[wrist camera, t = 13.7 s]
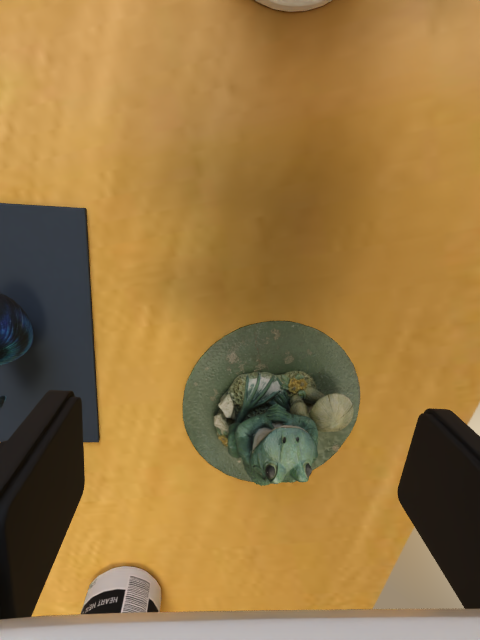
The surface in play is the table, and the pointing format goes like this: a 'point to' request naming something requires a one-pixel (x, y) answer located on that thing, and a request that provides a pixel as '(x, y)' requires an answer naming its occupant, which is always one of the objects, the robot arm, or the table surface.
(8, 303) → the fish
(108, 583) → the supplement can
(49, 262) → the mat
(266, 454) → the frog figurine
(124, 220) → the table surface
